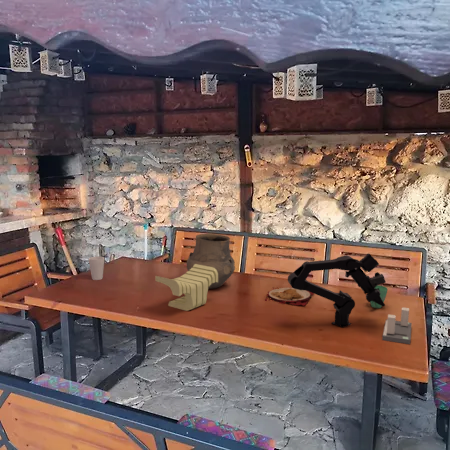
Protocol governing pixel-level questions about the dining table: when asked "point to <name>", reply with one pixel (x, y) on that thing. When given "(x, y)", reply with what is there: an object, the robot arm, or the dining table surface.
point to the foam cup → (96, 267)
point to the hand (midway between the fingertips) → (384, 305)
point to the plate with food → (290, 296)
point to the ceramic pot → (213, 256)
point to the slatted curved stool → (191, 286)
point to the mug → (382, 294)
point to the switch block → (398, 333)
